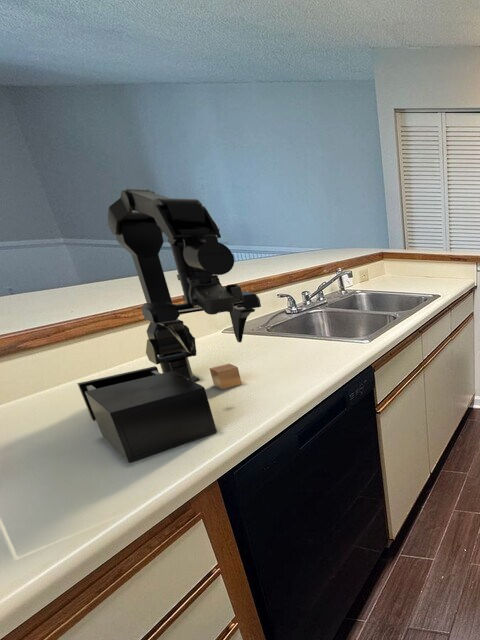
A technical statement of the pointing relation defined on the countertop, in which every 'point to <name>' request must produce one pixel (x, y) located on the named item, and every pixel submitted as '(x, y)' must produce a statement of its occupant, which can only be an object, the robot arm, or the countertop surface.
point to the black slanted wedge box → (151, 414)
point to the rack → (113, 382)
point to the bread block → (225, 376)
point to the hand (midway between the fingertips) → (215, 347)
